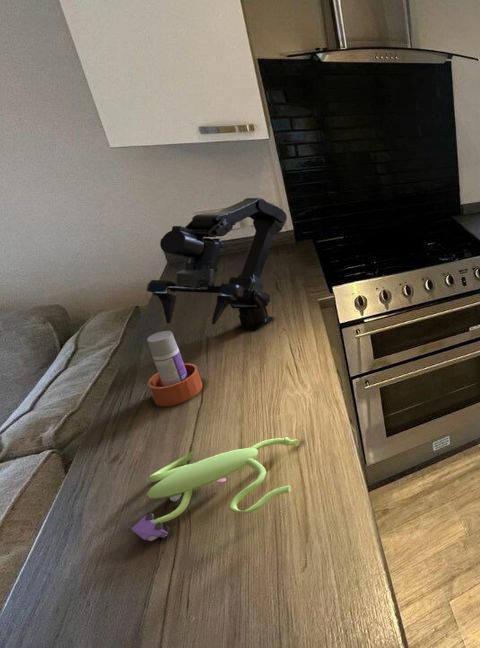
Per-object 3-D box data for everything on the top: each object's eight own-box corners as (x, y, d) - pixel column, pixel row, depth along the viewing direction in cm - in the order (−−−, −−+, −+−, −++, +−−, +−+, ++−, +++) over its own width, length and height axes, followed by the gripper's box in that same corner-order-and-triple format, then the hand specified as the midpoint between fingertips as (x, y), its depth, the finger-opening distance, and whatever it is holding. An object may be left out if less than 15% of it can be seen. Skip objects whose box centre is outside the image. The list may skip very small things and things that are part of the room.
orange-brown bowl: (183, 377, 109) (177, 360, 107) (212, 383, 107) (206, 366, 105) (144, 402, 100) (137, 384, 99) (175, 409, 98) (168, 391, 97)
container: (182, 381, 106) (163, 328, 101) (196, 386, 105) (178, 332, 99) (161, 394, 102) (140, 339, 97) (175, 398, 101) (155, 343, 95)
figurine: (286, 526, 73) (279, 502, 71) (101, 557, 68) (87, 532, 66) (316, 441, 90) (311, 420, 88) (169, 461, 85) (160, 439, 83)
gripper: (142, 252, 101) (127, 320, 97) (237, 259, 107) (225, 323, 104) (163, 261, 111) (150, 323, 107) (248, 266, 117) (238, 325, 114)
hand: (191, 323), depth 108 cm, fingers open, 9 cm apart
